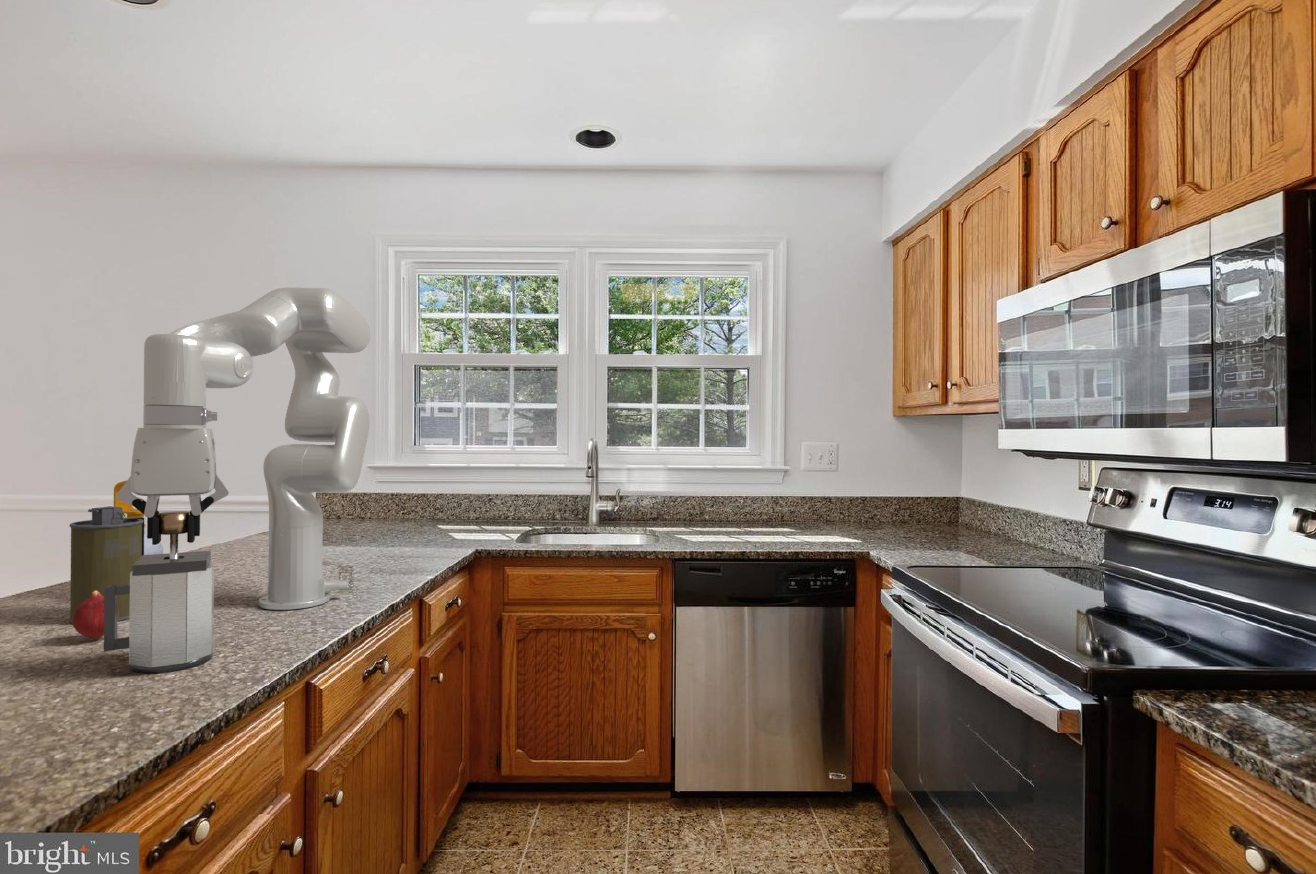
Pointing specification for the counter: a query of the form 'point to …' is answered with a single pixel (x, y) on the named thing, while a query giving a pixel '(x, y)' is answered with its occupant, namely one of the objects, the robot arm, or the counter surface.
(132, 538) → the canister
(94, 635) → the onion
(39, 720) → the counter surface
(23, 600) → the counter surface
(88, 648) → the counter surface
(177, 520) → the plunger
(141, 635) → the french press
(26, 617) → the counter surface
